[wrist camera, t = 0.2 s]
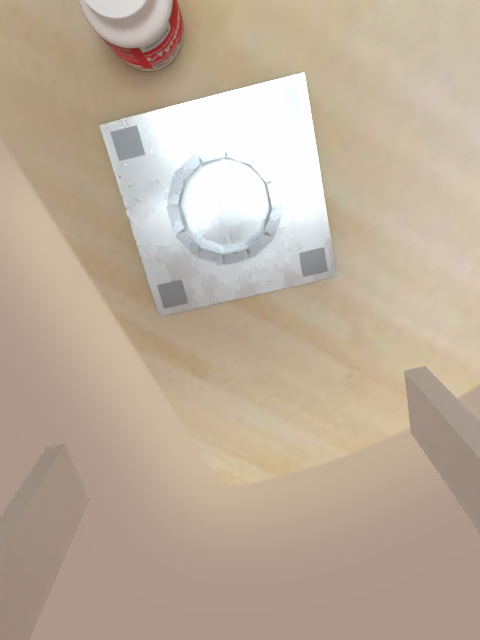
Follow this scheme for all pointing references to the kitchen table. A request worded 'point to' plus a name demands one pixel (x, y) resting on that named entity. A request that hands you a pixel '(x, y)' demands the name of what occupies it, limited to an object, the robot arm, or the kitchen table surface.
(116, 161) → the duct flange
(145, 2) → the pill bottle
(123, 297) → the kitchen table surface
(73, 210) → the kitchen table surface
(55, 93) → the kitchen table surface
